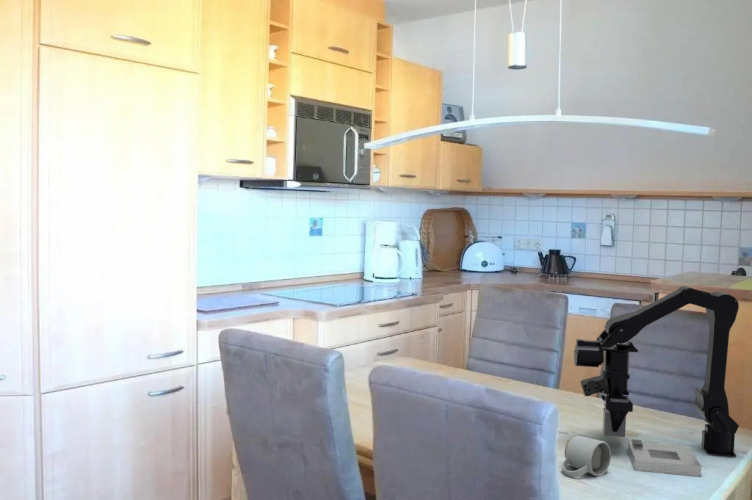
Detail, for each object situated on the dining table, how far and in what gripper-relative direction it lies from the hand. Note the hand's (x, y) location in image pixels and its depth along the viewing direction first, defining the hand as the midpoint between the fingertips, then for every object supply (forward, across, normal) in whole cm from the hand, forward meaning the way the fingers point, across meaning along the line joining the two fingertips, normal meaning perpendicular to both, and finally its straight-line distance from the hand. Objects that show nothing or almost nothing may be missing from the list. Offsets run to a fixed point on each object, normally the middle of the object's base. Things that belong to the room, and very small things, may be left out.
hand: (613, 428), depth 177 cm
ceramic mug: (+4, +21, -8) cm, 23 cm away
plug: (+1, 0, 0) cm, 1 cm away
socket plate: (+4, +10, +10) cm, 15 cm away
